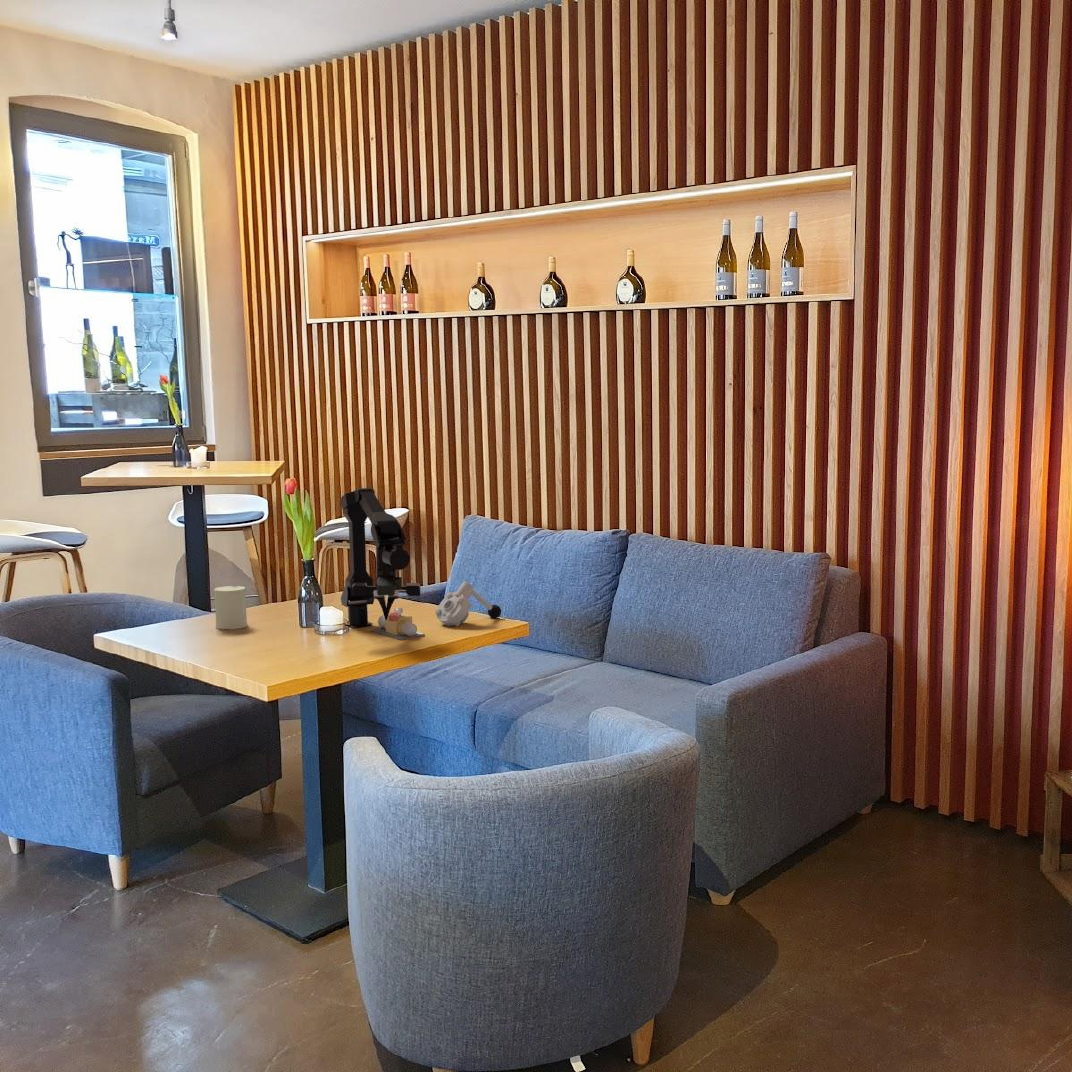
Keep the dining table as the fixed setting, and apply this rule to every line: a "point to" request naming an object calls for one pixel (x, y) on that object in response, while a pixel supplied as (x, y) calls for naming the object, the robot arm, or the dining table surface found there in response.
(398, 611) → the valve lever
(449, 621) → the mechanical valve
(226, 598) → the can
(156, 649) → the dining table surface
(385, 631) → the pipe valve
